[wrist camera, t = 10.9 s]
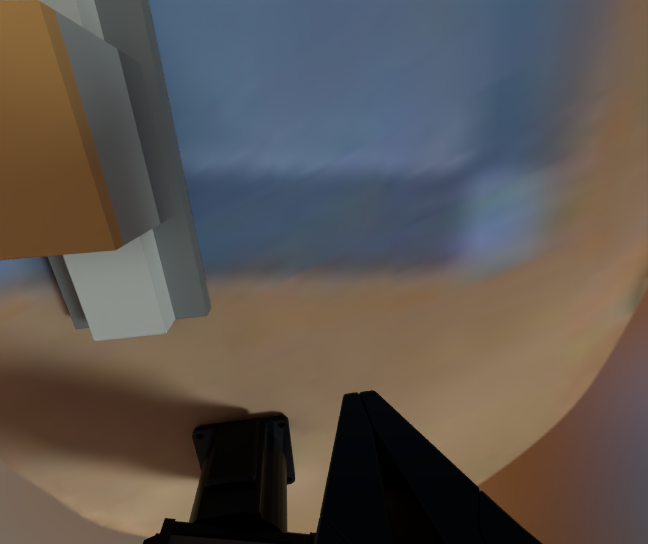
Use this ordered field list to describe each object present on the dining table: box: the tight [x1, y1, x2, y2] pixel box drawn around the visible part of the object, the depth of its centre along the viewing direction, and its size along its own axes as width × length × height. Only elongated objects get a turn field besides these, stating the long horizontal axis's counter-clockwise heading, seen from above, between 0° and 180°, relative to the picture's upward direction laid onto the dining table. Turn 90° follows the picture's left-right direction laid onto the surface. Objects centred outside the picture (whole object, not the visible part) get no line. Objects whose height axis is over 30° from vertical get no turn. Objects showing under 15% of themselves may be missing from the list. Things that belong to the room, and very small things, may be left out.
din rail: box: [39, 0, 211, 341], centre depth 14 cm, size 18×7×2 cm, turn 3°
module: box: [0, 0, 175, 260], centre depth 11 cm, size 6×6×6 cm
